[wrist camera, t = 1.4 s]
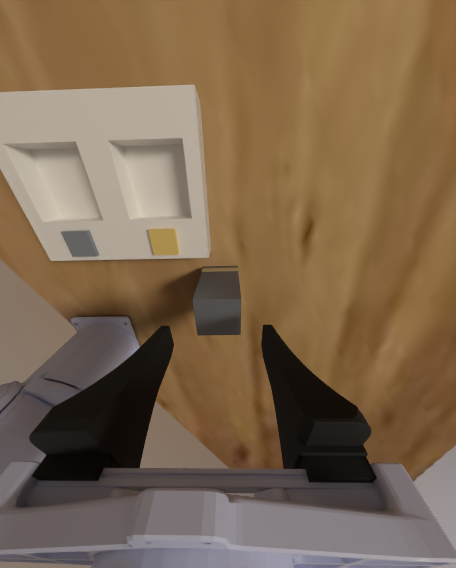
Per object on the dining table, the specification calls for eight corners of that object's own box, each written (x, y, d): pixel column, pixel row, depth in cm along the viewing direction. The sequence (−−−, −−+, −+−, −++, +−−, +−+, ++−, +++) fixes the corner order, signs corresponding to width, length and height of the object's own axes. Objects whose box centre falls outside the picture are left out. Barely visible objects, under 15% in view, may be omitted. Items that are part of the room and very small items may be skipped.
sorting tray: (210, 250, 19) (208, 259, 17) (70, 253, 20) (47, 262, 17) (199, 102, 13) (193, 81, 11) (2, 109, 14) (-50, 90, 11)
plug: (237, 295, 22) (241, 335, 16) (206, 295, 22) (197, 335, 16) (237, 265, 20) (241, 298, 14) (203, 266, 20) (191, 298, 14)
